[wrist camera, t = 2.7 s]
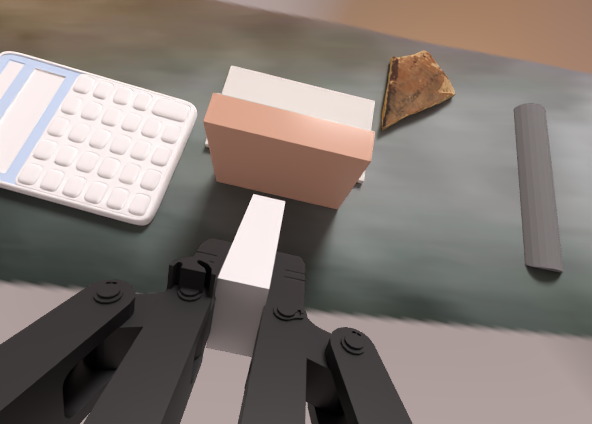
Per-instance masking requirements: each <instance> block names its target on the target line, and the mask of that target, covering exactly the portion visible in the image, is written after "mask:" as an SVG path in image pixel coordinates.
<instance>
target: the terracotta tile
mask: <svg viewBox="0 0 592 424" xmlns="http://www.w3.org/2000/svg"><path fill="white" fill-rule="evenodd" d="M203 122H204V126H205V131H206V135H207V140H208V145H209V149H210V154H211V158H212V163H213V168H214V172H215V177H216V181H217V182H221V183H225V184H230V185H234V186H238V187H243V188H247V189H251V190H256V191H260V192H264V193H269V194H273V195H277V196H281V197H286V198H290V199H294V200H299V201H303V202H307V203H312V204H316V205H320V206H325V207H329V208H333V209H339V207H340V206H341V204H342V203H343V201H344V200H345V198H346V197H347V196H348V194H349V193H350V191H351V190H352V188H353V187H354V185H355V184H356V183H357V181H358V180H359V178H360V177H361V175H362V174H363V172H364V171H365V170H366V168H367V167H368V165H369V164H370V162H371V158H372V151H373V143H374V136H375V132H373V131H372V130H368V129H364V128H360V127H355V126H351V125H347V124H343V123H339V122H335V121H331V120H327V119H323V118H319V117H314V116H310V115H306V114H302V113H298V112H294V111H290V110H286V109H282V108H277V107H273V106H269V105H265V104H261V103H257V102H253V101H249V100H245V99H241V98H236V97H232V96H228V95H224V94H220V93H213V95H212V98H211V101H210V104H209V107H208V110H207V113H206V115H205V118H204V121H203Z"/></svg>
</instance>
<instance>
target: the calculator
mask: <svg viewBox="0 0 592 424" xmlns="http://www.w3.org/2000/svg"><path fill="white" fill-rule="evenodd" d="M196 117H197V111H196V108H195V106H194V105H193V104H191V103H189V102H187V101H184V100H181V99H178V98H174V97H171V96H167V95H164V94H161V93H157V92H154V91H150V90H147V89H143V88H140V87H136V86H133V85H129V84H126V83H123V82H119V81H116V80H112V79H109V78H105V77H102V76H98V75H95V74H91V73H88V72H84V71H81V70H78V69H74V68H71V67H67V66H64V65H60V64H57V63H53V62H50V61H46V60H43V59H40V58H36V57H33V56H29V55H26V54H22V53H18V52H12V51H6V52H3V53H1V54H0V188H4V189H8V190H11V191H15V192H19V193H22V194H26V195H29V196H33V197H37V198H40V199H44V200H47V201H51V202H55V203H58V204H62V205H65V206H69V207H73V208H76V209H80V210H83V211H87V212H91V213H94V214H98V215H102V216H105V217H109V218H112V219H116V220H120V221H123V222H127V223H131V224H135V225H147V224H149V223H150V222H151V221H152V219H153V218H154V216H155V214H156V212H157V210H158V208H159V206H160V204H161V201H162V199H163V197H164V194H165V192H166V190H167V187H168V185H169V182H170V180H171V178H172V175H173V173H174V171H175V168H176V166H177V164H178V161H179V159H180V157H181V154H182V152H183V150H184V147H185V145H186V143H187V140H188V138H189V136H190V133H191V131H192V129H193V126H194V124H195V121H196ZM89 126H90V127H89ZM41 166H42V167H41ZM84 178H85V179H84ZM140 186H141V187H140Z"/></svg>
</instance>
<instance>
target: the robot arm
mask: <svg viewBox="0 0 592 424" xmlns="http://www.w3.org/2000/svg"><path fill="white" fill-rule="evenodd" d="M284 207H285V201H281V200H277V199H273V198H268V197H264V196H260V195H255V194H253V196H252V199H251V201H250V203H249V206H248V208H247V210H246V213H245V215H244V217H243V220H242V222H241V224H240V227H239V229H238V232H237V234H236V236H235V239H234V241H233V243H232V242H227V241H223V240H218V239H214V238H210V239H208V240H206V241H205V242H203V243H201V245H200V247H199V248H198V250H197V253H195V255H194V257H182V258H179V259H177V260H174V261H173V262H172V263H171V264H170V265H169V274H168V285H167V289H166V291H165V292H161V293H157V294H135V290H134V288H133V286H132V285H130V284H129V283H127V282H124V281H120V280H104V281H99V282H96V283H94V284H92V285H90V286H88V287H86V288H85V289H83V290H82V291H80V292H79V293H77V294H76V295H74V296H73V297H71V298H70V299H68V300H67V301H65V302H64V303H62V304H61V305H59V306H58V307H56V308H55V309H53V310H52V311H50V312H49V313H47V314H46V315H44V316H43V317H41V318H40V319H38V320H37V321H35V322H34V323H32V324H31V325H29V326H28V327H26V328H25V329H23V330H22V331H20V332H19V333H17V334H16V335H14V336H13V337H11V338H10V339H8V340H7V341H5V342H4V343H2V344H1V345H0V424H80V423H81V422H82V420H83V419H84V418H85V417H86V416H87V415H88V414H89V413H90V414H89V415H88V417H87V419H86V420H85V422H84V424H180V422H181V419H182V416H183V413H184V411H185V408H186V405H187V402H188V399H189V397H190V393H191V391H192V388H193V385H194V383H195V380H196V377H197V374H198V371H199V369H200V366H201V363H202V357H203V352H204V348H205V345H206V343H207V346H206V348H211V349H215V350H220V351H225V352H230V353H235V354H240V355H244V356H249V357H252V359H251V364H250V368H249V372H248V376H247V380H246V384H245V391H244V396H243V402H242V406H241V411H240V415H239V420H238V424H305V405H306V402H308V410H309V414H310V419H311V423H312V424H412V422H411V420H410V418H409V416H408V413H407V411H406V409H405V407H404V405H403V403H402V401H401V399H400V397H399V395H398V393H397V391H396V389H395V387H394V385H393V383H392V381H391V379H390V377H389V375H388V372H387V371H386V369H385V366H384V364H383V362H382V360H381V358H380V356H379V354H378V352H377V350H376V348H375V346H374V344H373V343H372V341H371V340H370V339H369V338H368V337H367V336H366V335H365V334H363V333H362V332H360V331H358V330H356V329H353V328H348V327H343V328H338V329H336V330H334V331H333V332H332V334H331V333H329V332H327V331H325V330H322V329H320V328H319V327H317V326H315V325H314V324H313V323H312V322H311V321H310V320H309V319H308V318H307V314H306V311H305V310H304V293H305V264H304V262H303V260H302V258H301V257H299V256H295V255H290V254H286V253H281V252H277V251H276V250H277V245H278V239H279V234H280V228H281V223H282V218H283V212H284Z"/></svg>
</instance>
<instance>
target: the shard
mask: <svg viewBox="0 0 592 424" xmlns="http://www.w3.org/2000/svg"><path fill="white" fill-rule="evenodd" d="M388 81H389V82H388V86H387V90H386V95H385V102H384V107H383V111H382V123H381V124H382V130H384V129H386V128H387V127H390V126H392V125H393V124H395V123H397V122H398V121H399V120H401V119H403V118H405V117H407V116H409V115H411V114H416V113H418V112H420V111H422V110H424V109H427V108H430V107H432V106H433V105H436V104H440V103H442V102H443V101H445V100H447V99H449V98H450V97H453V96H454V95H455V92H454V89H453V87H452V85H451V83H450V81H449V79H448V77H447V76H446V75H445V73H444V72H443V71H442V70H441V69H440V67H439V66H438V64H437V63H436V62H435V61H434V60H433V58H432V56H431V55H430V54H429V53H428V52H427V51H421V52H419V53H416V54H413V55H409V56H404V57H399V58H398V57H392V58H391V59H390V72H389V75H388Z"/></svg>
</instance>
